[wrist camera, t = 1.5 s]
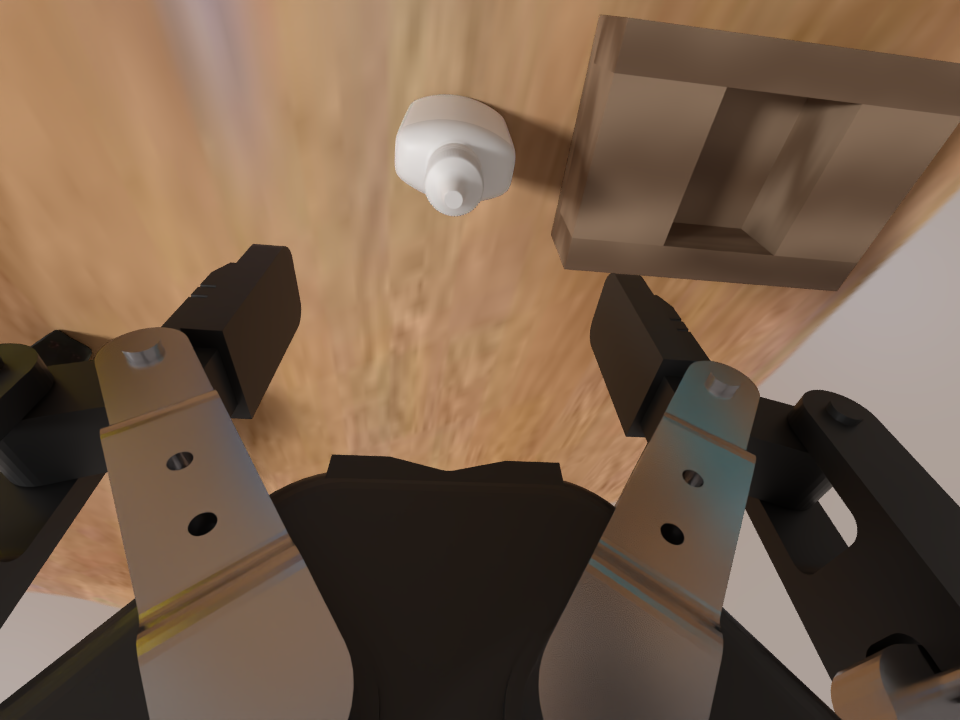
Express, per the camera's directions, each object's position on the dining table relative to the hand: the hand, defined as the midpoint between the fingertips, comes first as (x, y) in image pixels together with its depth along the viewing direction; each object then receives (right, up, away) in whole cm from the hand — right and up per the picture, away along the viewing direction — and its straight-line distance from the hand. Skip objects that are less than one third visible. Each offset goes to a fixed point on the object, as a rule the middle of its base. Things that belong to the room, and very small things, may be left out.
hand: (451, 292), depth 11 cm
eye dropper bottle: (-1, +12, +14) cm, 19 cm away
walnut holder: (+15, +11, +16) cm, 25 cm away
